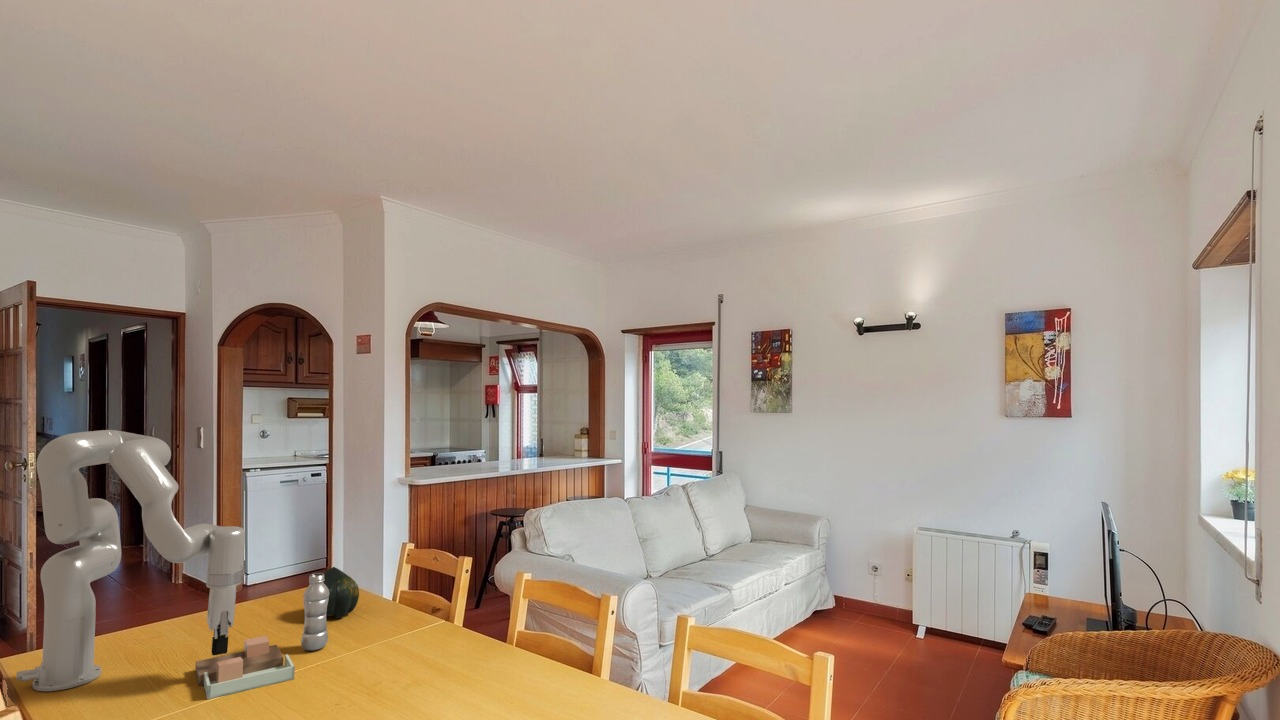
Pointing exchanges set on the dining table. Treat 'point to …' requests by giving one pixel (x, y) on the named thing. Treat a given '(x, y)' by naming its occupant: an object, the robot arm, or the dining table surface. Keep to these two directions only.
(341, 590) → the squash
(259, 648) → the tile
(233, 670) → the tile
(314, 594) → the plastic bottle
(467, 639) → the dining table surface
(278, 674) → the tray
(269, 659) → the board
